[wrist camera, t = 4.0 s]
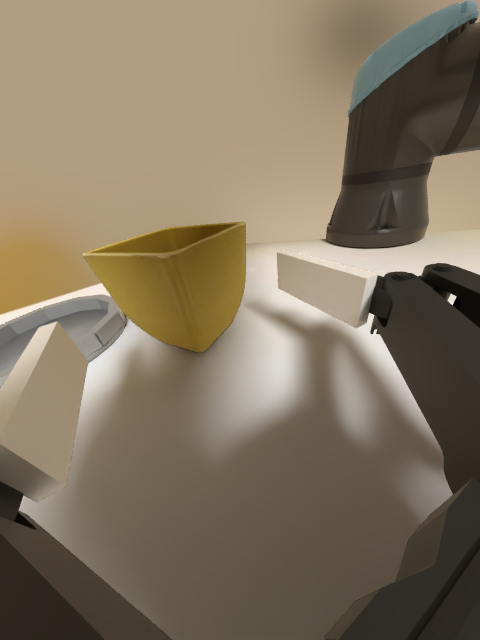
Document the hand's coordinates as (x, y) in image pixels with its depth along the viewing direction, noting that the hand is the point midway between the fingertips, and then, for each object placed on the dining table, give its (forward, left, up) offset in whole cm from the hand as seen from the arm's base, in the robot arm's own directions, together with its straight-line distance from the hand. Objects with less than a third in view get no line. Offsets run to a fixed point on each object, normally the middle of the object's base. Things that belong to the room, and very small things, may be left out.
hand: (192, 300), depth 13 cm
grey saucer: (+13, -13, -6) cm, 19 cm away
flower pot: (-1, -5, -6) cm, 8 cm away
